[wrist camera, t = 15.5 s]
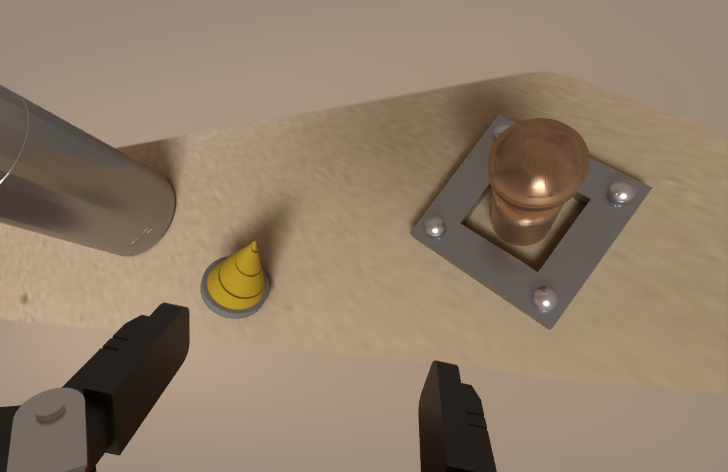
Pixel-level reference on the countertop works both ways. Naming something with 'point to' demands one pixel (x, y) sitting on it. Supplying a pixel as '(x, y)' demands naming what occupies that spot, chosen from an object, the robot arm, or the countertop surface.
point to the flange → (506, 273)
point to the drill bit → (236, 284)
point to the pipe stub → (534, 177)
